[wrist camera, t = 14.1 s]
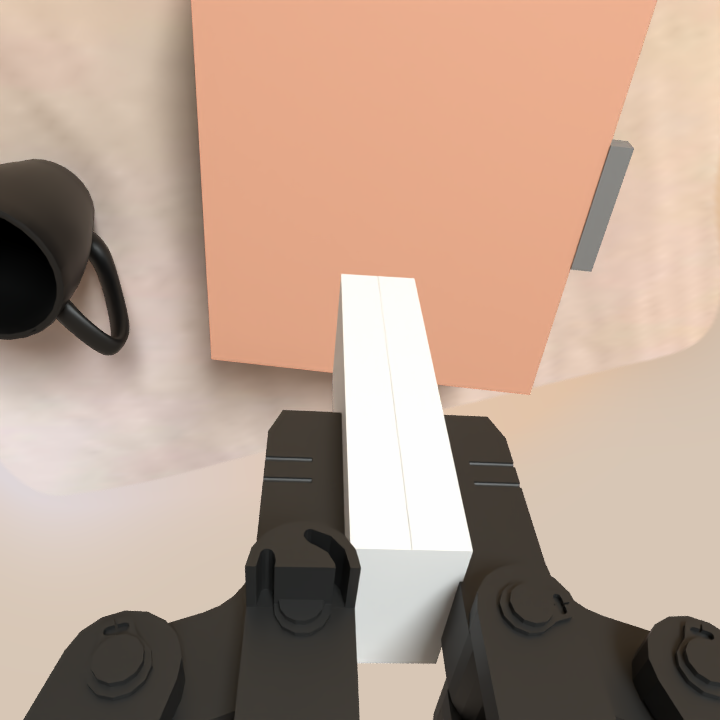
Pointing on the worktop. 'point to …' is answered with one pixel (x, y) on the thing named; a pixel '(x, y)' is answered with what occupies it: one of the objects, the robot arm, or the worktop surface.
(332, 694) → the robot arm
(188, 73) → the worktop surface
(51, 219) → the mug
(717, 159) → the worktop surface
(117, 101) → the worktop surface
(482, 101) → the lid
